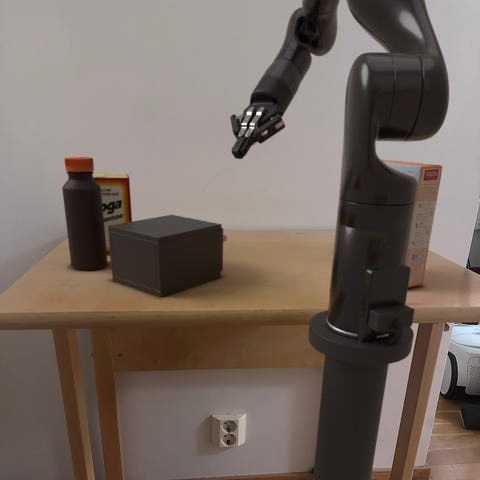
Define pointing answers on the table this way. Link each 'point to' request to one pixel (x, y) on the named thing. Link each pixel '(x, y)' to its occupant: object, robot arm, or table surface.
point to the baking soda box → (114, 200)
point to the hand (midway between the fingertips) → (236, 155)
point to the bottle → (84, 215)
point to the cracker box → (420, 214)
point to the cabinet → (165, 253)
